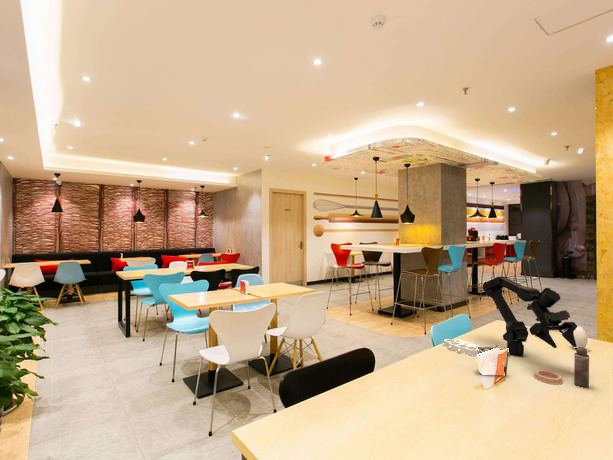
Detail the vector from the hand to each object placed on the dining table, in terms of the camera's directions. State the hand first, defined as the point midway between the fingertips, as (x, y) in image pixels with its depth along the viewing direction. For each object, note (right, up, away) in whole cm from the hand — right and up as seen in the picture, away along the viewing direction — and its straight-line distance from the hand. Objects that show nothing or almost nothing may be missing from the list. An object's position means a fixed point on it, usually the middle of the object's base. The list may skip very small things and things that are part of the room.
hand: (565, 347), depth 137 cm
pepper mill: (+1, -12, -7) cm, 14 cm away
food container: (-28, -13, +5) cm, 31 cm away
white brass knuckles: (-27, -13, +32) cm, 44 cm away
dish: (-8, -12, -1) cm, 15 cm away
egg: (+32, -13, +33) cm, 48 cm away
